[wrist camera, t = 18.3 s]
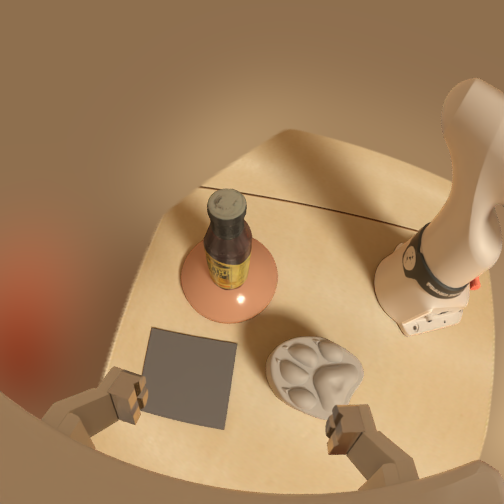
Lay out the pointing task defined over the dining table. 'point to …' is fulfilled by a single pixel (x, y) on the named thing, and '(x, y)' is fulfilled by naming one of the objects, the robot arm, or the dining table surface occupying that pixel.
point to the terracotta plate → (229, 301)
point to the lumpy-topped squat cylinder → (313, 375)
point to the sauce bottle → (228, 239)
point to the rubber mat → (188, 378)
